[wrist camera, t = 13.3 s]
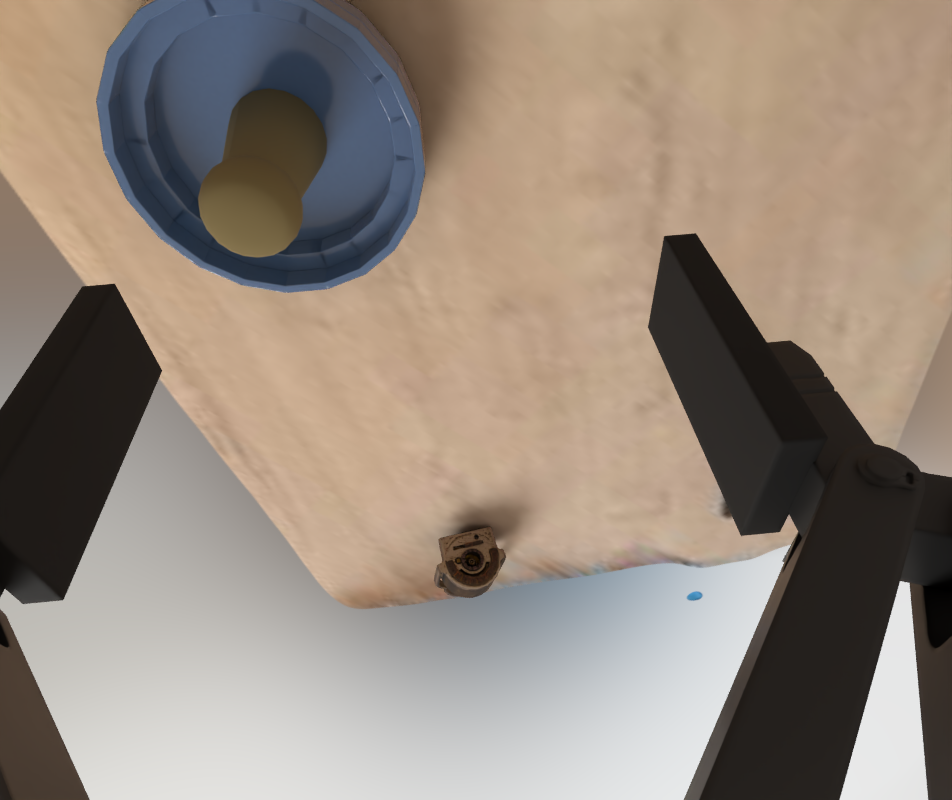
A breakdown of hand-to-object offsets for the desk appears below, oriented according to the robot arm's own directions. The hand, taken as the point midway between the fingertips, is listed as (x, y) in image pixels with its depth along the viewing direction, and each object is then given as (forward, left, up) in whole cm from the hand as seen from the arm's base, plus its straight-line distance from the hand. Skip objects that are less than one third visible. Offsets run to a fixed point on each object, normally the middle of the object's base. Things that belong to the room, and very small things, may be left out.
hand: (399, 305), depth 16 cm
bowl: (+6, -9, -29) cm, 31 cm away
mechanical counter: (+57, -1, -29) cm, 64 cm away
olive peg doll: (+6, -9, -28) cm, 30 cm away
